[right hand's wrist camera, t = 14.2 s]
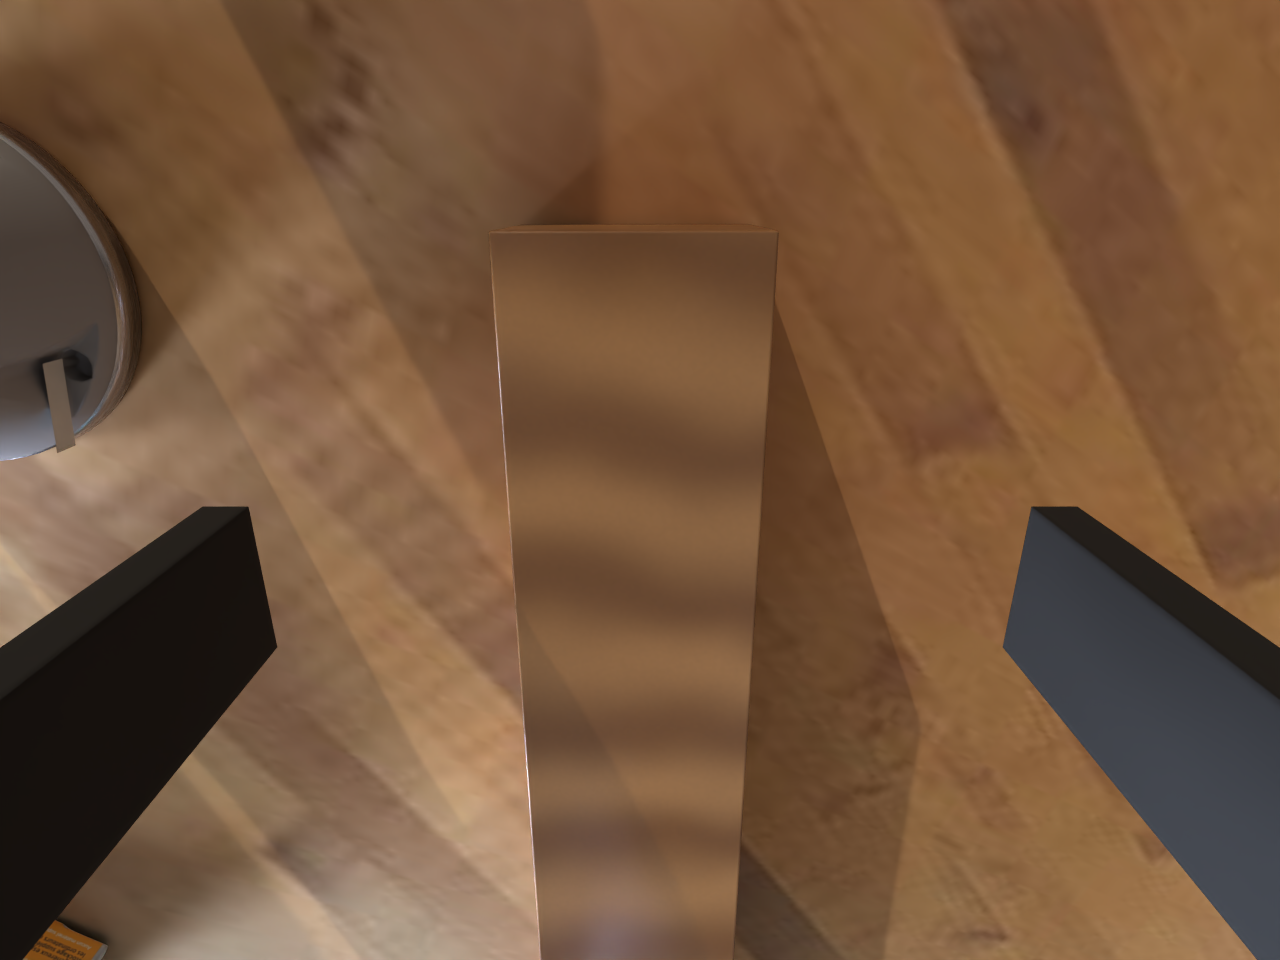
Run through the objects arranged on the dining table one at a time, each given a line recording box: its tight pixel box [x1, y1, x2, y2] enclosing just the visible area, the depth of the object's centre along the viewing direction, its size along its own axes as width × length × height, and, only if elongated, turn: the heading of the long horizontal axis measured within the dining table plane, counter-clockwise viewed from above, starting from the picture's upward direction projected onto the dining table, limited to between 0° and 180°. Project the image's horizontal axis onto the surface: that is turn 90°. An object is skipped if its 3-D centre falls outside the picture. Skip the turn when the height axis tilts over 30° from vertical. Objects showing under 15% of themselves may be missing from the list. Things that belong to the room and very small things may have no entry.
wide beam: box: [489, 224, 779, 960], centre depth 41 cm, size 69×10×7 cm, turn 0°
